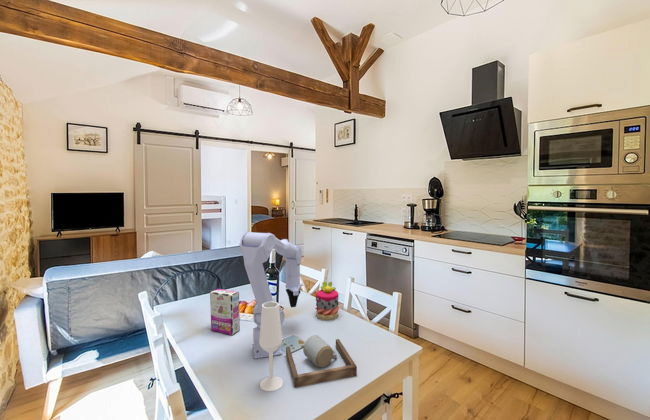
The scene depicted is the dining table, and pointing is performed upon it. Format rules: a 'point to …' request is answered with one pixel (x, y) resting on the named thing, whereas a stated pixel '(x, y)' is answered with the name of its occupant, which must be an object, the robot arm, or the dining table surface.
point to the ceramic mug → (318, 351)
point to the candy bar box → (225, 311)
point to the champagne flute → (270, 341)
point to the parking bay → (323, 374)
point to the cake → (327, 302)
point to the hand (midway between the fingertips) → (293, 306)
